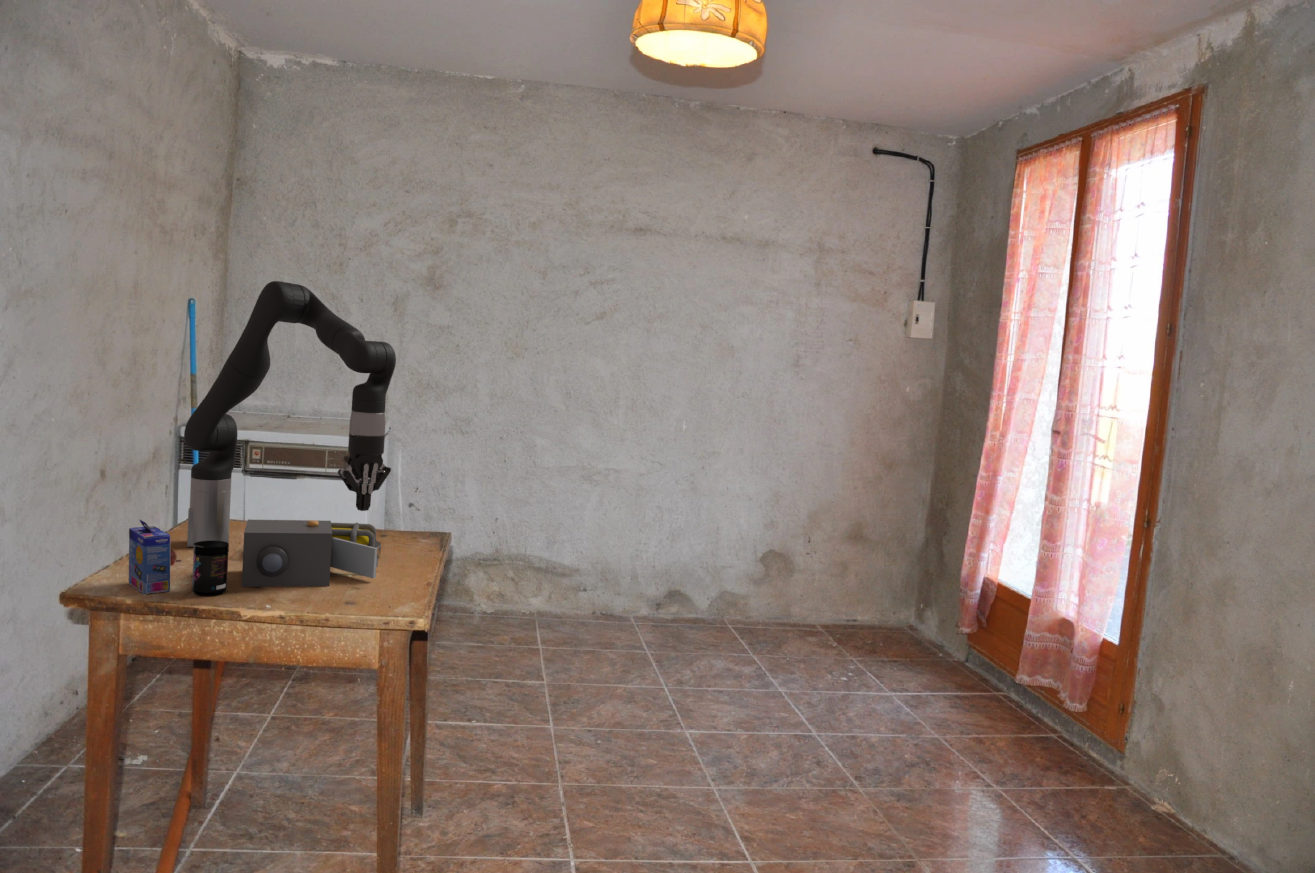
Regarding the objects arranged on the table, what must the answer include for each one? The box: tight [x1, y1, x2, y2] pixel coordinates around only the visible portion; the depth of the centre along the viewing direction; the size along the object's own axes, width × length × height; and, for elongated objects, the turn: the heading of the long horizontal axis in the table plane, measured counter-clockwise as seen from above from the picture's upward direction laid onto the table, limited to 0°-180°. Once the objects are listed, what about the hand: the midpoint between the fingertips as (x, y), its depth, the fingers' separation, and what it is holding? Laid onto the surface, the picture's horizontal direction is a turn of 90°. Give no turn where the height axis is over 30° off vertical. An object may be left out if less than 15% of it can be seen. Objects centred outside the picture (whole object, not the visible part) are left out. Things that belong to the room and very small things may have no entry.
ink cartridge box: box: [128, 519, 171, 595], centre depth 198 cm, size 10×6×14 cm, turn 46°
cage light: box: [331, 522, 382, 560], centre depth 237 cm, size 15×8×30 cm
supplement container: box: [191, 541, 230, 597], centre depth 198 cm, size 7×7×10 cm
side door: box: [330, 537, 379, 579], centre depth 220 cm, size 1×14×7 cm, turn 61°
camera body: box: [241, 519, 332, 588], centre depth 212 cm, size 18×17×13 cm
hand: (362, 510), depth 208 cm, fingers closed
